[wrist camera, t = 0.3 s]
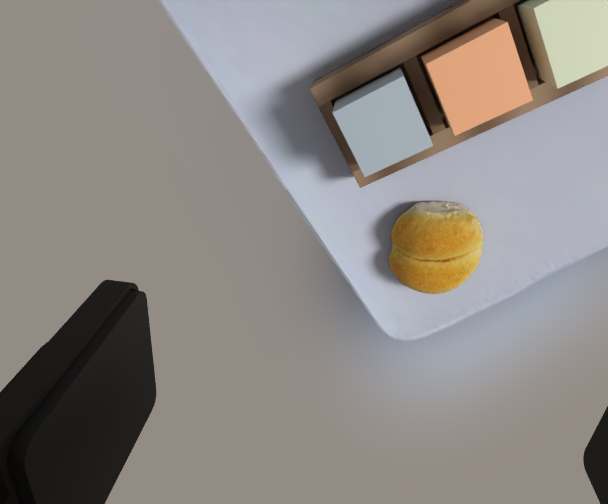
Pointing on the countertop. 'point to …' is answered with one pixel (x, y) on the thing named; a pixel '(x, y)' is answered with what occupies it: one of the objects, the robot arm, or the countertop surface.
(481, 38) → the orange block
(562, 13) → the sage button
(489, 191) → the countertop surface
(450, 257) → the bread roll
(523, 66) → the wooden tray
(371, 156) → the slate button
